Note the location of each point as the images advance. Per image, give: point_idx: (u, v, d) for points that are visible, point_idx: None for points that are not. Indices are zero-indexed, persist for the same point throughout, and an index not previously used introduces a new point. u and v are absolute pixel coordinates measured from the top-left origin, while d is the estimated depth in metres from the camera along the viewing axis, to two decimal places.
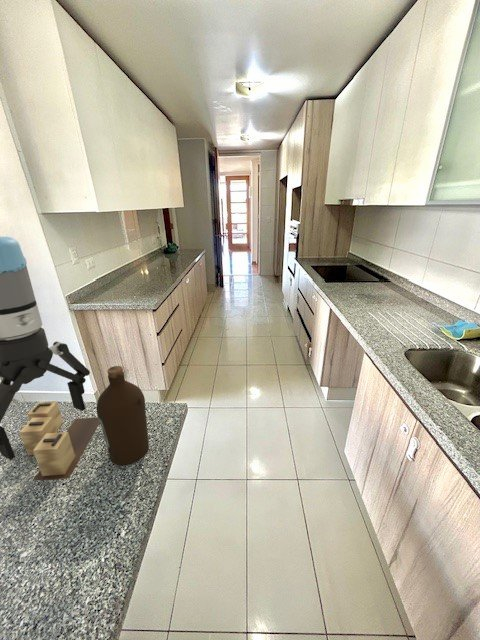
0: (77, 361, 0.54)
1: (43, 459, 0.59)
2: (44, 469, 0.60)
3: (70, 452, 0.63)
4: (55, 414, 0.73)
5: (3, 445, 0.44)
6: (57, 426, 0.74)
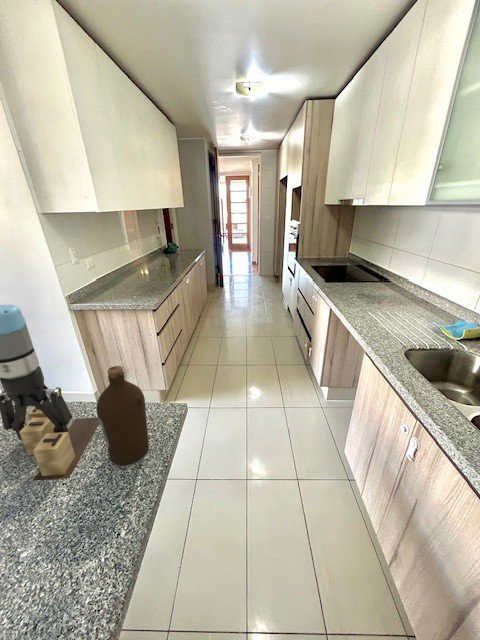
0: (59, 410, 0.63)
1: (43, 459, 0.59)
2: (44, 469, 0.60)
3: (70, 452, 0.63)
4: None
5: None
6: None
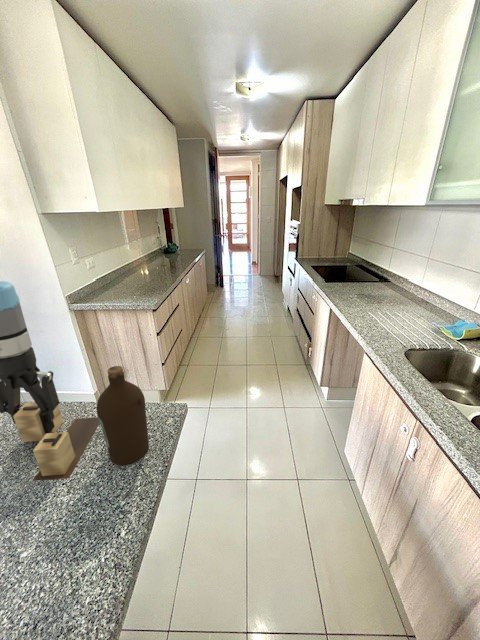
0: (48, 395, 0.62)
1: (43, 459, 0.59)
2: (44, 469, 0.60)
3: (70, 452, 0.63)
4: (55, 414, 0.73)
5: None
6: (57, 426, 0.74)
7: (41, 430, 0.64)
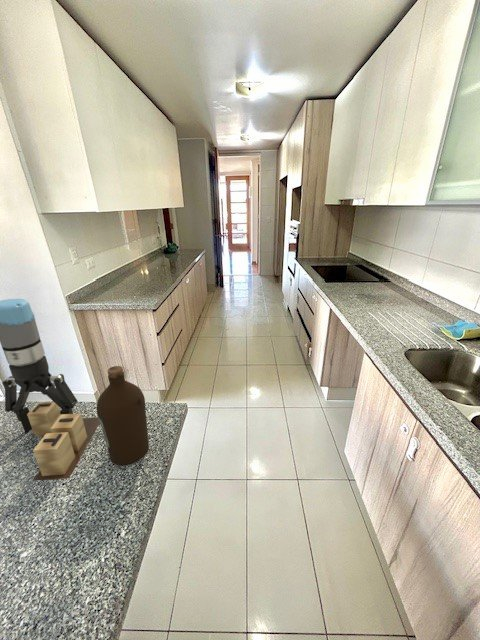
0: (64, 395, 0.69)
1: (43, 459, 0.59)
2: (44, 469, 0.60)
3: (70, 452, 0.63)
4: (55, 414, 0.73)
5: None
6: None
7: (76, 441, 0.66)
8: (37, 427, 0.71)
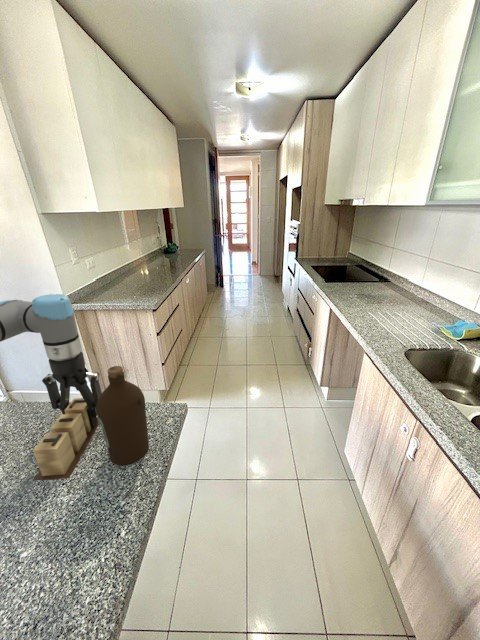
0: (95, 393, 0.70)
1: (43, 459, 0.59)
2: (44, 469, 0.60)
3: (70, 452, 0.63)
4: None
5: None
6: None
7: (76, 441, 0.66)
8: None
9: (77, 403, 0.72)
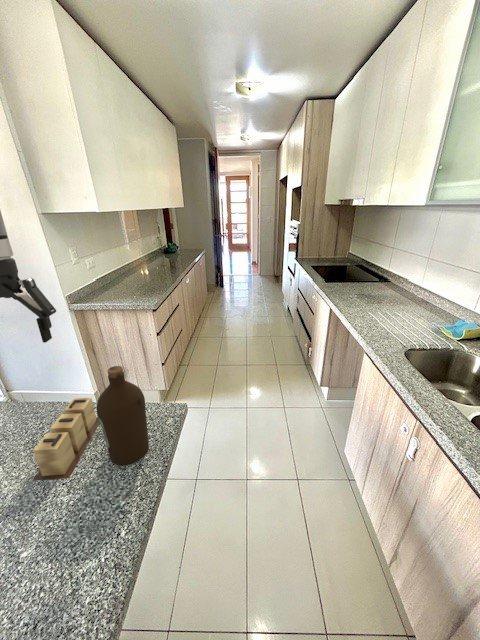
0: (37, 299, 0.63)
1: (43, 459, 0.59)
2: (44, 469, 0.60)
3: (70, 452, 0.63)
4: (89, 411, 0.74)
5: None
6: (91, 422, 0.75)
7: (76, 441, 0.66)
8: None
9: (77, 403, 0.72)
